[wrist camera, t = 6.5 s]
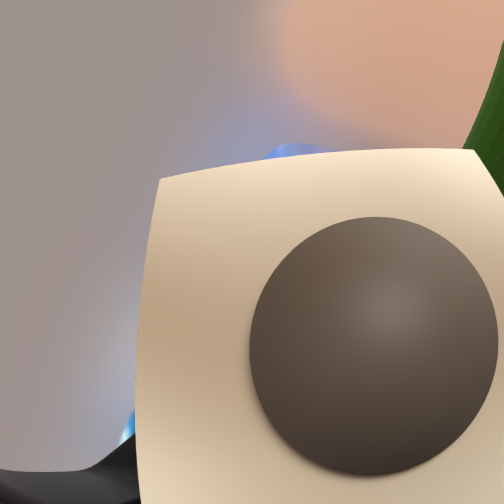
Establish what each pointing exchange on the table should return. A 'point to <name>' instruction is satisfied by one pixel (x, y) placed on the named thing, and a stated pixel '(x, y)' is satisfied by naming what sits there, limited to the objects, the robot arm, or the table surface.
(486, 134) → the wine bottle
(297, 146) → the table surface
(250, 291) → the maple block
